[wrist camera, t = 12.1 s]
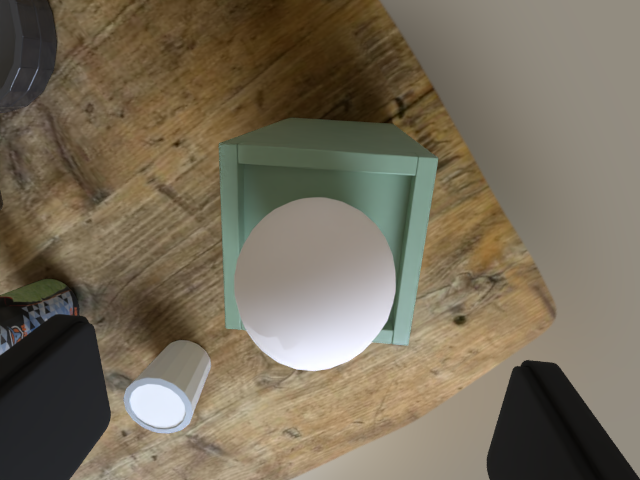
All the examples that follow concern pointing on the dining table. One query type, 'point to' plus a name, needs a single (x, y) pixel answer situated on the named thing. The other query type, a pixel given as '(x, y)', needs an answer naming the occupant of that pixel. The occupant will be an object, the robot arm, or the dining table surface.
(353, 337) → the egg
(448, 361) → the dining table surface
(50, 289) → the beverage can
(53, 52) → the pan
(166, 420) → the white cylinder
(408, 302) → the stand
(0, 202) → the pan handle
